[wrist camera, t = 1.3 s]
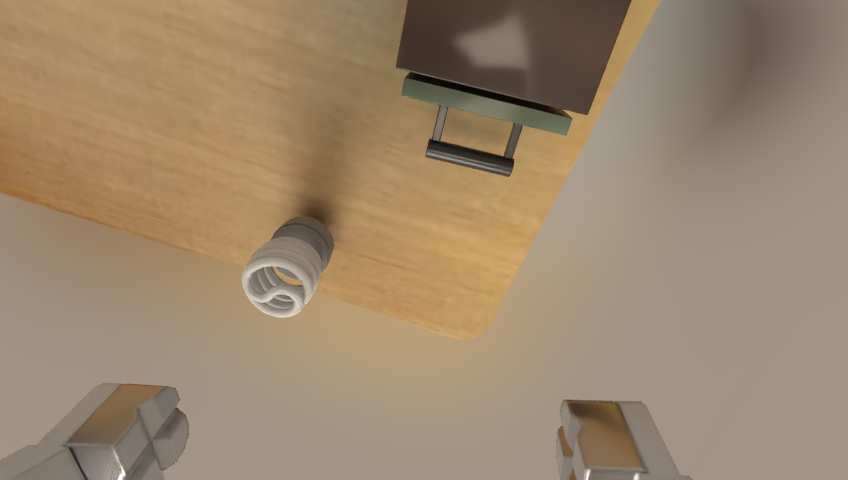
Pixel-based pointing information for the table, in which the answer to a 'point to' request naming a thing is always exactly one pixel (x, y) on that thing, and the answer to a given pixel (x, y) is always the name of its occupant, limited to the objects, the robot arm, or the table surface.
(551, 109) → the drawer
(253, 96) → the table surface
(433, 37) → the cabinet
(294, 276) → the light bulb
